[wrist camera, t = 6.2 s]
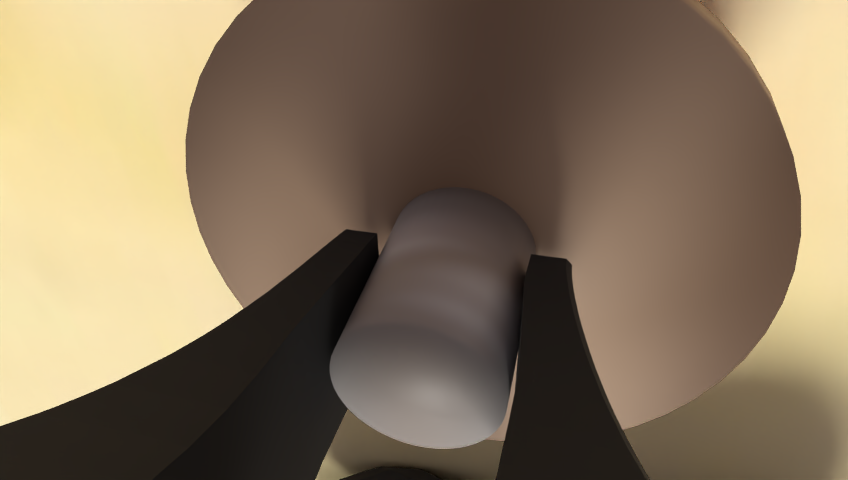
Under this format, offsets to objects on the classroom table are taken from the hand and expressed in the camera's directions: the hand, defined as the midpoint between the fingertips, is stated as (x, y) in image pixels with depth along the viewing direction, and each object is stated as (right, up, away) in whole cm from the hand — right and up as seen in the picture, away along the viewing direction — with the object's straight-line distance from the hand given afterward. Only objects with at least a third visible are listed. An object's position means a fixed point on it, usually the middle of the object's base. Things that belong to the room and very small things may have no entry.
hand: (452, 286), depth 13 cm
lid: (0, +1, +1) cm, 2 cm away
